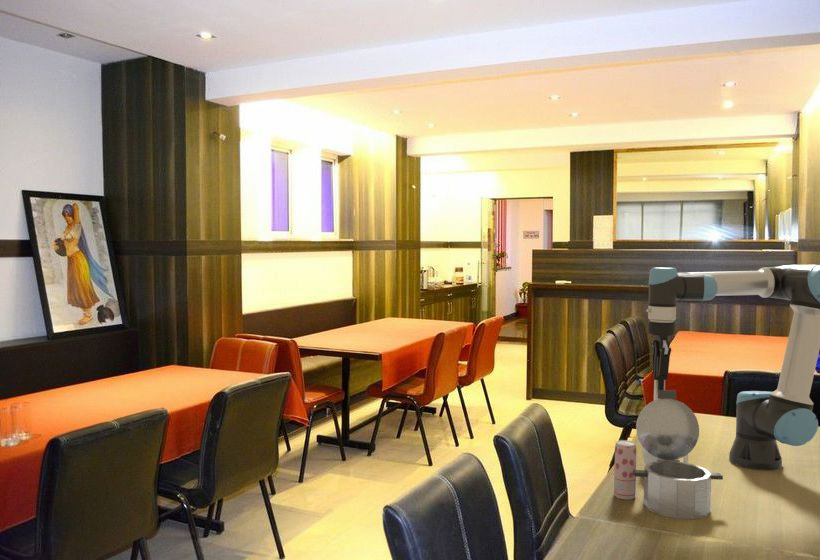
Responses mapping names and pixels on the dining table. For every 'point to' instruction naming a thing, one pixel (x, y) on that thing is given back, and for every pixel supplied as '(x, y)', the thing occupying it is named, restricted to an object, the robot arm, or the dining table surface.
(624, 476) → the beverage can
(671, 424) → the lid
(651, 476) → the pot
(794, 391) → the robot arm
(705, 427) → the dining table surface
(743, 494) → the dining table surface
